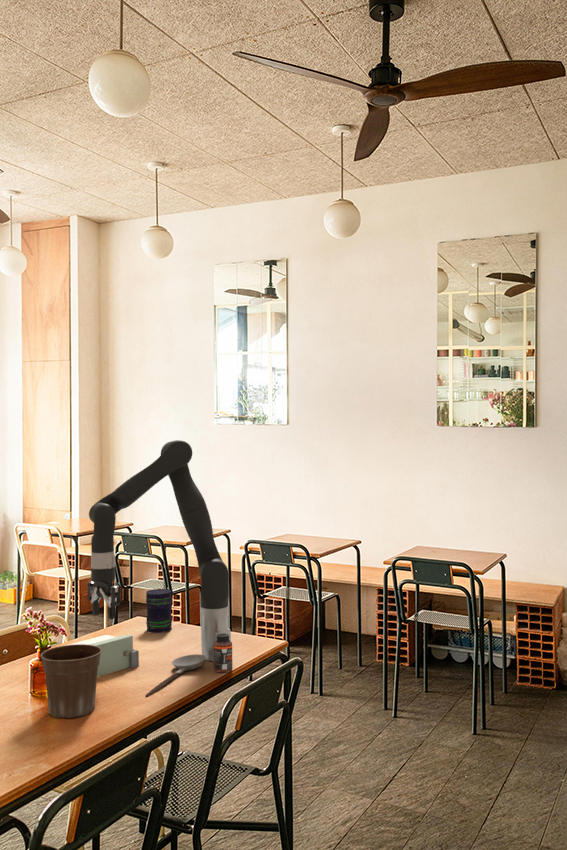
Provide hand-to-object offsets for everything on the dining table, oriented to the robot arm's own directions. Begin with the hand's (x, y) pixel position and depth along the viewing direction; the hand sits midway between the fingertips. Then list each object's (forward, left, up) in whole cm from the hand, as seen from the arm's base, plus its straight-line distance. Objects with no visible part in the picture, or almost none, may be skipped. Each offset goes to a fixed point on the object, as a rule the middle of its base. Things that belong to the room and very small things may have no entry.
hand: (104, 616), depth 233 cm
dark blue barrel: (+28, -45, -18) cm, 56 cm away
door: (0, 0, -18) cm, 18 cm away
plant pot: (-20, +25, -18) cm, 37 cm away
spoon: (-22, -9, -19) cm, 30 cm away
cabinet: (+5, 0, -18) cm, 19 cm away
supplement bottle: (-28, -25, -18) cm, 42 cm away
